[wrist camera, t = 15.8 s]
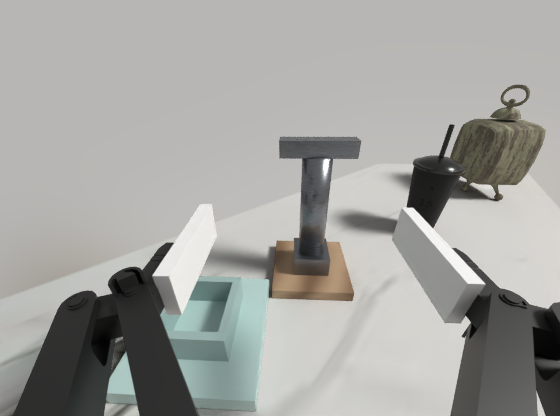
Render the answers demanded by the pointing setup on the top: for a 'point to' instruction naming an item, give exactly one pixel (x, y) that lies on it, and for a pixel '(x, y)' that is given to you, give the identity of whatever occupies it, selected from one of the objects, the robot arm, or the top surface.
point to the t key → (315, 195)
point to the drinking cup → (433, 183)
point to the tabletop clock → (498, 146)
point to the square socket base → (213, 344)
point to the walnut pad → (310, 286)
